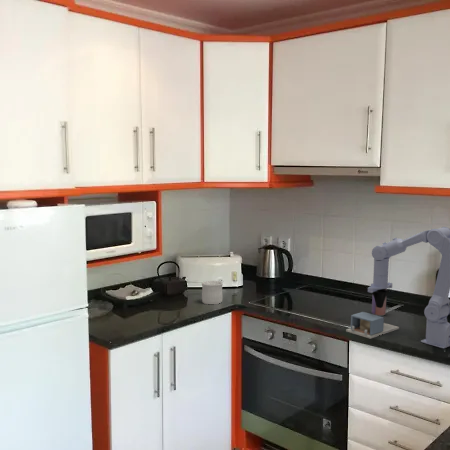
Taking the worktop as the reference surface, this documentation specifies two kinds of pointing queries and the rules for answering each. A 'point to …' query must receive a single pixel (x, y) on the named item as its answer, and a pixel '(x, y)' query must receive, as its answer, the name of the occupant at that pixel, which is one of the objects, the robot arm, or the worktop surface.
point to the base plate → (366, 334)
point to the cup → (212, 292)
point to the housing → (374, 320)
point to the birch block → (364, 325)
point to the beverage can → (377, 310)
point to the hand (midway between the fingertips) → (379, 307)
